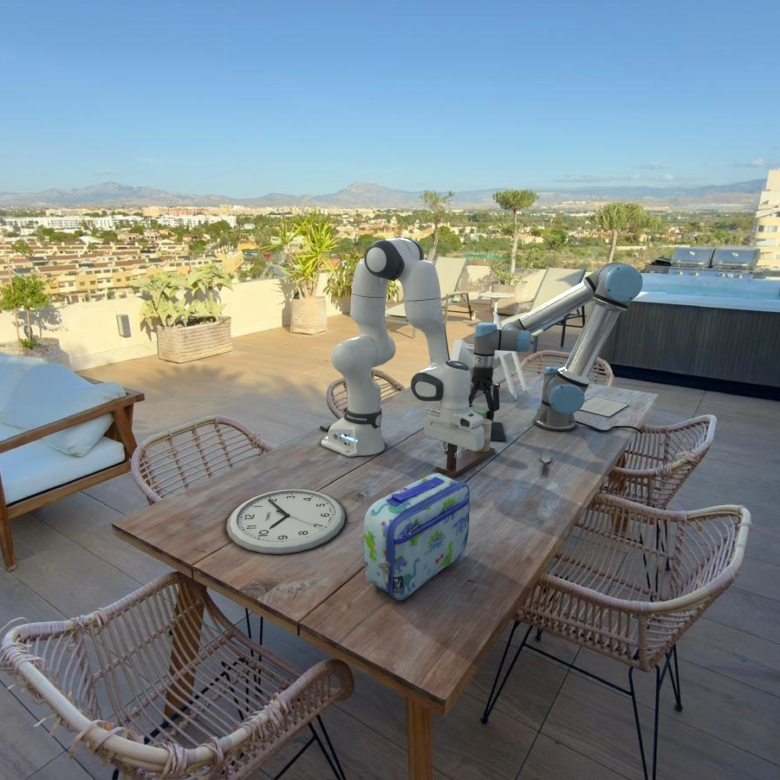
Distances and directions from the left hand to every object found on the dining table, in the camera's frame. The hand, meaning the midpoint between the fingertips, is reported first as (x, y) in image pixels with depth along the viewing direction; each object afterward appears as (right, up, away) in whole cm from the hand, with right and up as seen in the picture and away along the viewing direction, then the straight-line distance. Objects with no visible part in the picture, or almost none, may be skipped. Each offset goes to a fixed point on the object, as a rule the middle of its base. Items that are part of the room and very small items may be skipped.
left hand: (451, 455), depth 163 cm
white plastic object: (+22, +19, +80) cm, 86 cm away
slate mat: (+14, +5, +34) cm, 37 cm away
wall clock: (-46, -13, -28) cm, 55 cm away
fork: (+31, -4, +5) cm, 31 cm away
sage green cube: (+14, +8, +33) cm, 37 cm away
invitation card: (+72, +13, +63) cm, 97 cm away
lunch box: (-13, -20, -47) cm, 53 cm away
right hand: (+14, +8, +33) cm, 37 cm away
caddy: (+6, -3, +8) cm, 11 cm away
